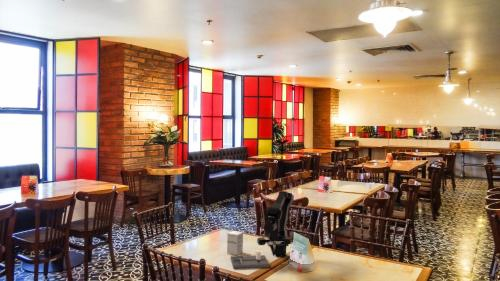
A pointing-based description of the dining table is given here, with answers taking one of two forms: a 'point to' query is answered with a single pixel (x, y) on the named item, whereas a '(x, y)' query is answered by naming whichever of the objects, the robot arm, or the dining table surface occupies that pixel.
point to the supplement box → (235, 242)
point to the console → (249, 262)
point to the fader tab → (258, 255)
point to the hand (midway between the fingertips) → (273, 255)
